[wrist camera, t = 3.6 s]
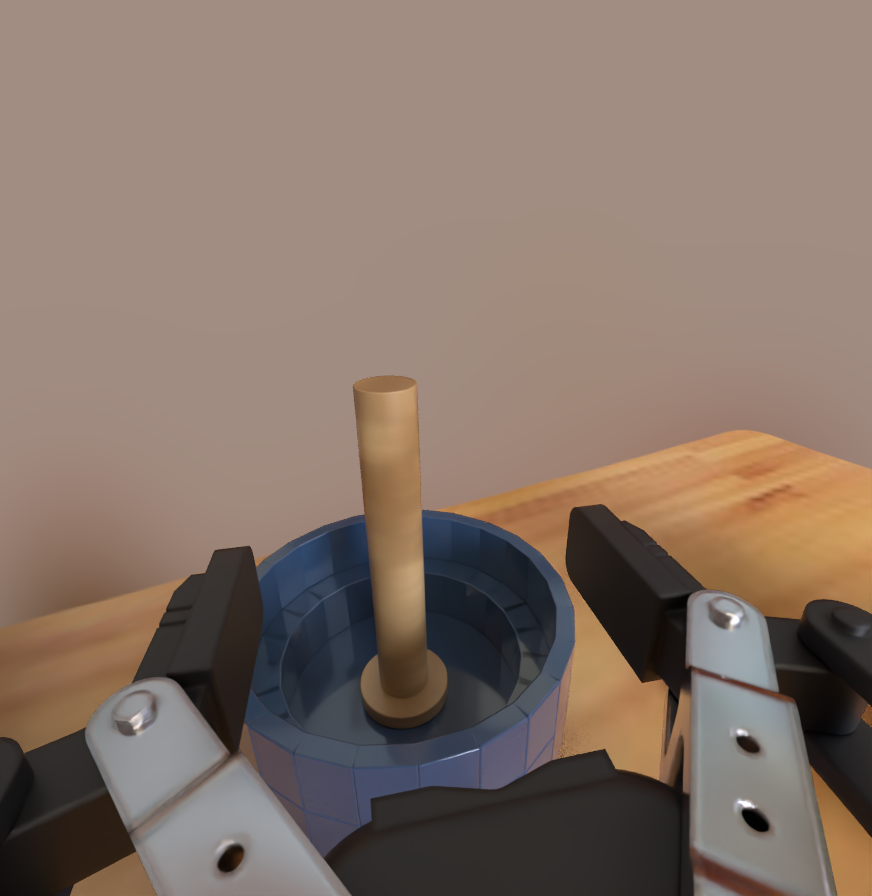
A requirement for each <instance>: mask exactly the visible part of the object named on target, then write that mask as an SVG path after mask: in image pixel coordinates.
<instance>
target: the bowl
mask: <svg viewBox="0 0 872 896" xmlns="http://www.w3.org/2000/svg"><path fill="white" fill-rule="evenodd" d="M422 530H423V556H424V583H425V609H426V636H427V649H428V650H430V651H432V652H433V653H435V654H436V655H437V656H438V657H439V658H440V659H441V660H442V662H443V663H444V665H445V667H446V670H447V674H448V694H447V698H446V701H445V703H444V705H443V707H442V708H441V710H440V711H439V712H438V713H437V715H436V716H434V717H433V718H432V719H431V720H429V721H428V722H426V723H424V724H422V725H419V726H417V727H413V728H407V729H396V728H390V727H387V726H384V725H382V724H380V723H378V722H376V721H375V720H374V719H373V718H371V717H370V715H369V714H368V713H367V712H366V710H365V708H364V706H363V703H362V699H361V691H360V680H361V675H362V673H363V670H364V669H365V667H366V665H367V664H368V662H369V661H370V660H371V659H372V658H373V657H374V656H376V655H377V654H378V653H377V642H376V631H375V620H374V609H373V598H372V588H371V577H370V566H369V555H368V544H367V533H366V523H365V515H359V516H356V517H355V516H354V517H350V518H347V519H344V520H341V521H338V522H334V523H331V524H328V525H324V526H322V527H320V528H318V529H316V530H314V531H311V532H309V533H307V534H305V535H303V536H301V537H299V538H297V539H295V540H293V541H291V542H289V543H287V544H286V545H285V546H283V547H282V548H280V549H279V550H277V551H276V552H275V553H273V554H272V555H270V556H269V557H267V558H266V559H265V560H263V561H262V562H261V563H260V564H259V565H258V566H257V567H256V571H257V576H258V580H259V585H260V590H261V595H262V601H263V626H262V631H261V636H260V642H259V647H258V652H257V657H256V662H255V668H254V673H253V678H252V683H251V688H250V694H249V699H248V704H247V709H246V714H245V720H244V725H243V730H242V735H241V740H240V745H239V751H240V752H241V753H242V754H243V755H244V756H245V757H246V758H247V760H248V761H249V762H250V763H251V765H252V766H253V767H254V769H255V770H256V771H257V773H258V774H259V775H260V777H261V778H262V779H263V780H264V782H265V783H266V784H267V786H268V787H269V788H270V790H271V791H272V792H273V794H274V795H275V796H276V797H277V799H278V800H279V801H280V803H281V804H282V805H283V807H284V808H285V809H286V810H287V812H288V813H289V814H290V816H291V817H292V818H293V820H294V821H295V822H296V824H297V825H298V826H299V827H300V829H301V830H302V831H303V833H304V834H305V835H306V837H307V838H308V839H309V841H310V842H311V843H312V844H313V846H314V847H315V848H316V850H317V851H318V852H319V854H320V855H321V856H322V858H324V857H325V856H326V855H327V854H328V853H329V851H330V850H331V849H333V848H334V847H335V846H336V845H337V844H338V843H339V842H340V841H342V840H343V839H344V838H345V837H346V836H348V835H349V834H351V833H352V832H354V831H355V830H356V829H358V828H359V827H361V826H363V825H365V824H366V823H368V822H370V821H372V817H371V801H370V799H371V798H376V797H381V796H385V795H390V794H395V793H399V792H404V791H409V790H414V789H418V788H423V787H428V786H445V787H460V788H476V789H499V788H501V787H504V786H505V785H507V784H509V783H511V782H513V781H515V780H516V779H518V778H520V777H522V776H524V775H525V774H527V773H529V772H531V771H533V770H534V769H536V768H538V767H540V766H542V765H543V764H545V763H547V762H549V761H551V760H555V759H557V758H558V755H559V752H560V749H561V746H562V743H563V736H564V728H565V720H566V711H567V703H568V695H569V688H570V680H571V671H572V663H573V655H574V647H575V615H574V607H573V605H572V602H571V600H570V597H569V595H568V592H567V590H566V587H565V585H564V582H563V580H562V578H561V577H560V575H559V574H558V573H557V572H556V570H555V569H554V568H553V567H552V566H551V564H550V563H549V562H548V561H547V560H546V558H545V557H544V556H543V555H542V554H541V553H540V552H539V551H538V550H536V549H535V548H533V547H532V546H531V545H529V544H528V543H527V542H525V541H524V540H522V539H521V538H520V537H518V536H517V535H515V534H513V533H510V532H508V531H506V530H504V529H502V528H500V527H497V526H495V525H493V524H491V523H489V522H485V521H481V520H478V519H474V518H470V517H466V516H463V515H459V514H455V513H448V512H439V511H430V510H423V511H422Z"/></svg>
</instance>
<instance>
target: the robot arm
mask: <svg viewBox="0 0 872 896" xmlns="http://www.w3.org/2000/svg"><path fill="white" fill-rule="evenodd" d="M566 568H567V572H568V575H569V577H570V579H571V581H572V583H573V584H574V586H575V587H576V588H577V590H578V591H579V593H580V594H581V596H582V597H583V599H584V600H585V601H586V603H587V604H588V606H589V607H590V609H591V610H592V612H593V613H594V614H595V616H596V617H597V619H598V620H599V622H600V623H601V624H602V626H603V627H604V629H605V630H606V632H607V633H608V635H609V636H610V637H611V639H612V640H613V642H614V643H615V645H616V646H617V648H618V649H619V650H620V652H621V653H622V655H623V656H624V658H625V659H626V660H627V662H628V663H629V665H630V666H631V668H632V669H633V671H634V672H635V673H636V675H637V676H638V678H639V679H640V681H641V682H642V683H644V682H650V681H655V680H660V679H663V681H664V682H665V683H666V685H667V686H668V687H667V691H666V695H665V705H664V719H663V734H662V748H661V763H660V774H659V780H656V779H654V778H652V777H649V776H645V775H642V774H639V773H636V772H631V771H626V770H619V769H615V767H614V765H613V763H612V761H611V760H610V758H609V756H608V754H607V752H606V750H605V749H603V750H598V751H593V752H588V753H584V754H579V755H574V756H569V757H565V758H560V759H555V760H551V761H549V762H547V763H545V764H543V765H542V766H540V767H538V768H536V769H534V770H533V771H531V772H529V773H527V774H525V775H524V776H522V777H520V778H518V779H516V780H515V781H513V782H511V783H509V784H507V785H505V786H504V787H501V788H499V789H476V788H460V787H445V786H428V787H423V788H418V789H414V790H409V791H404V792H399V793H395V794H390V795H385V796H381V797H376V798H371V799H370V801H371V817H372V821H370V822H368V823H366V824H365V825H363V826H361V827H359V828H358V829H356V830H355V831H354V832H352V833H351V834H349V835H348V836H346V837H345V838H344V839H343V840H342V841H340V842H339V843H338V844H337V845H336V846H335V847H334V848H333V849H331V850H330V851H329V853H328V854H327V855H326V856H325V857H324V858H322V856H321V855H320V854H319V852H318V851H317V850H316V848H315V847H314V846H313V844H312V843H311V842H310V841H309V839H308V838H307V837H306V835H305V834H304V833H303V831H302V830H301V829H300V827H299V826H298V825H297V824H296V822H295V821H294V820H293V818H292V817H291V816H290V814H289V813H288V812H287V810H286V809H285V808H284V807H283V805H282V804H281V803H280V801H279V800H278V799H277V797H276V796H275V795H274V794H273V792H272V791H271V790H270V788H269V787H268V786H267V784H266V783H265V782H264V780H263V779H262V778H261V777H260V775H259V774H258V773H257V771H256V770H255V769H254V767H253V766H252V765H251V763H250V762H249V761H248V760H247V758H246V757H245V756H244V755H243V754H242V753H241V752H240V751H239V745H240V740H241V735H242V730H243V725H244V720H245V714H246V709H247V704H248V699H249V694H250V688H251V683H252V678H253V673H254V668H255V662H256V657H257V652H258V647H259V642H260V636H261V631H262V626H263V601H262V595H261V590H260V585H259V580H258V576H257V571H256V566H255V561H254V556H253V552H252V549H251V547H250V546H245V547H236V548H228V549H220V550H215V551H214V553H213V555H212V558H211V561H210V563H209V565H208V568H207V570H206V573H203V574H195V575H191V576H190V577H189V578H188V579H187V580H186V581H185V582H184V583H183V584H181V585H180V586H179V587H178V588H177V589H176V590H175V591H174V593H173V595H172V598H171V600H170V602H169V604H168V606H167V608H166V613H164V615H163V617H162V619H161V621H160V623H159V628H157V630H156V632H155V634H154V636H153V638H152V641H151V643H150V645H149V647H148V649H147V651H146V654H145V656H144V658H143V660H142V662H141V664H140V666H139V669H138V671H137V673H136V675H135V677H134V679H133V682H132V684H129V685H127V686H126V687H124V688H122V689H120V690H119V691H117V692H115V693H114V694H113V695H111V696H110V697H109V698H108V699H106V700H105V701H104V702H103V703H102V704H101V705H100V706H99V707H98V708H97V710H96V711H95V712H94V714H93V715H92V717H91V718H90V720H89V722H88V724H87V727H85V728H83V729H81V730H79V731H77V732H75V733H73V734H70V735H68V736H65V737H63V738H61V739H58V740H56V741H53V742H51V743H48V744H46V745H43V746H41V747H39V748H36V749H34V750H31V751H29V752H26V753H24V752H23V751H22V749H21V747H20V745H19V744H18V743H17V742H16V741H15V740H13V739H11V738H6V737H0V896H70V894H71V891H72V888H73V885H74V884H75V883H77V882H79V881H81V880H83V879H85V878H87V877H89V876H90V875H92V874H94V873H96V872H98V871H100V870H102V869H104V868H106V867H107V866H109V865H111V864H113V863H115V862H117V861H119V860H121V859H123V858H124V857H126V856H128V855H130V854H132V853H134V852H137V854H138V856H139V858H140V861H141V863H142V865H143V867H144V869H145V871H146V873H147V876H148V878H149V880H150V882H151V884H152V886H153V889H154V891H155V893H156V895H157V896H837V891H836V887H835V882H834V877H833V872H832V868H831V863H830V858H829V854H828V849H827V844H826V840H825V835H824V830H823V825H822V821H821V816H820V811H819V807H818V802H817V797H816V793H815V788H814V783H813V778H812V774H811V769H810V765H811V766H812V767H813V769H814V770H815V771H816V772H817V773H818V774H819V776H820V777H821V778H822V779H823V780H824V782H825V783H826V784H827V785H828V786H829V787H830V789H831V790H832V791H833V792H834V793H835V795H836V796H837V797H838V798H839V799H840V801H841V802H842V803H843V804H844V805H845V806H846V808H847V809H848V810H849V811H850V812H851V814H852V815H853V816H854V817H855V818H856V819H857V821H858V822H859V823H860V824H861V825H862V827H863V828H864V829H865V830H866V831H867V832H868V834H869V835H870V836H871V837H872V728H871V727H870V726H869V725H868V724H867V723H865V722H864V721H863V720H862V719H861V717H862V715H863V713H864V711H865V709H866V707H867V705H868V704H869V705H871V706H872V614H870V613H868V612H867V611H864V610H862V609H860V608H858V607H855V606H853V605H850V604H847V603H843V602H839V601H834V600H825V599H822V600H814V601H811V602H809V603H808V604H807V605H806V607H805V609H804V612H803V615H802V618H801V620H800V619H789V618H778V617H767V616H763V615H762V613H761V612H760V611H759V610H758V609H757V608H756V607H755V606H753V605H752V604H751V603H749V602H747V601H746V600H744V599H742V598H740V597H738V596H736V595H733V594H730V593H727V592H723V591H718V590H707V589H706V588H704V587H703V586H702V585H701V584H700V583H699V582H698V581H697V580H696V579H695V578H694V577H693V576H692V575H691V574H690V573H688V572H687V571H686V570H685V569H684V568H683V567H682V566H681V565H680V564H679V563H678V562H677V561H676V560H675V559H674V558H672V557H671V556H668V553H667V552H666V551H665V550H664V549H663V548H662V547H661V546H660V545H657V543H656V542H655V541H654V540H653V539H652V538H651V537H650V536H649V535H648V534H647V533H646V532H645V531H644V530H642V529H640V528H638V527H636V526H634V525H632V524H630V523H628V522H627V521H620V520H619V519H618V518H617V517H616V516H615V515H614V514H613V513H612V512H611V511H610V510H609V509H608V508H607V507H606V506H604V505H602V504H599V505H591V506H583V507H575V508H573V509H572V511H571V513H570V519H569V529H568V538H567V548H566Z"/></svg>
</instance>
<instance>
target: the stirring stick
mask: <svg viewBox="0 0 872 896" xmlns="http://www.w3.org/2000/svg"><path fill="white" fill-rule="evenodd" d="M353 392H354V403H355V414H356V425H357V436H358V447H359V457H360V468H361V479H362V490H363V500H364V512H365V523H366V533H367V544H368V555H369V566H370V577H371V588H372V598H373V609H374V620H375V631H376V642H377V653H378V654H377V655H376V656H374V657H373V658H372V659H371V660H370V661H369V662H368V664H367V665H366V667H365V669H364V670H363V673H362V675H361V680H360V691H361V699H362V703H363V706H364V708H365V710H366V712H367V713H368V714H369V715H370V717H371V718H373V719H374V720H375V721H376V722H378V723H380V724H382V725H384V726H387V727H390V728H396V729H407V728H413V727H417V726H419V725H422V724H424V723H426V722H428V721H429V720H431V719H432V718H433V717H434V716H436V715H437V713H438V712H439V711H440V710H441V708H442V707H443V705H444V703H445V701H446V698H447V694H448V674H447V670H446V667H445V665H444V663H443V662H442V660H441V659H440V658H439V657H438V656H437V655H436V654H435V653H433V652H432V651H430V650H428V649H427V636H426V609H425V583H424V556H423V530H422V507H421V506H422V505H421V476H420V450H419V424H418V399H417V398H418V397H417V382H416V381H415V380H413V379H411V378H408V377H403V376H376V377H370V378H366V379H362V380H360V381H358V382H356V383H355V384H354V385H353Z"/></svg>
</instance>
